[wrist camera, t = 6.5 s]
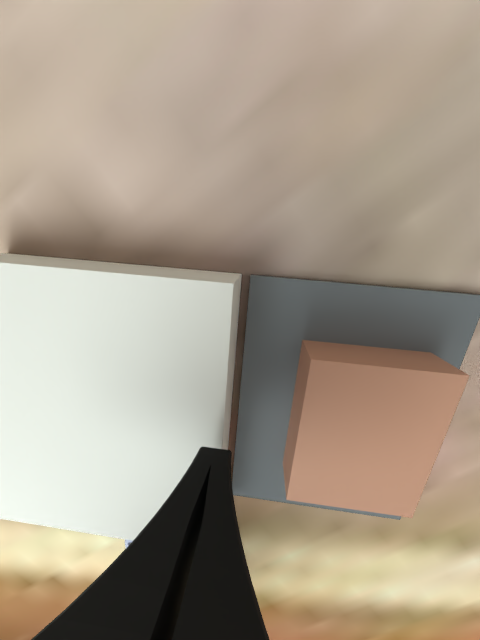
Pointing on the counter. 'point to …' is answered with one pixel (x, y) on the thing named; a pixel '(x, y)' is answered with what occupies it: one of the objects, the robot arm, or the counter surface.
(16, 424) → the white platform
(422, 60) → the counter surface
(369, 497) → the tile
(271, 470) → the mat
